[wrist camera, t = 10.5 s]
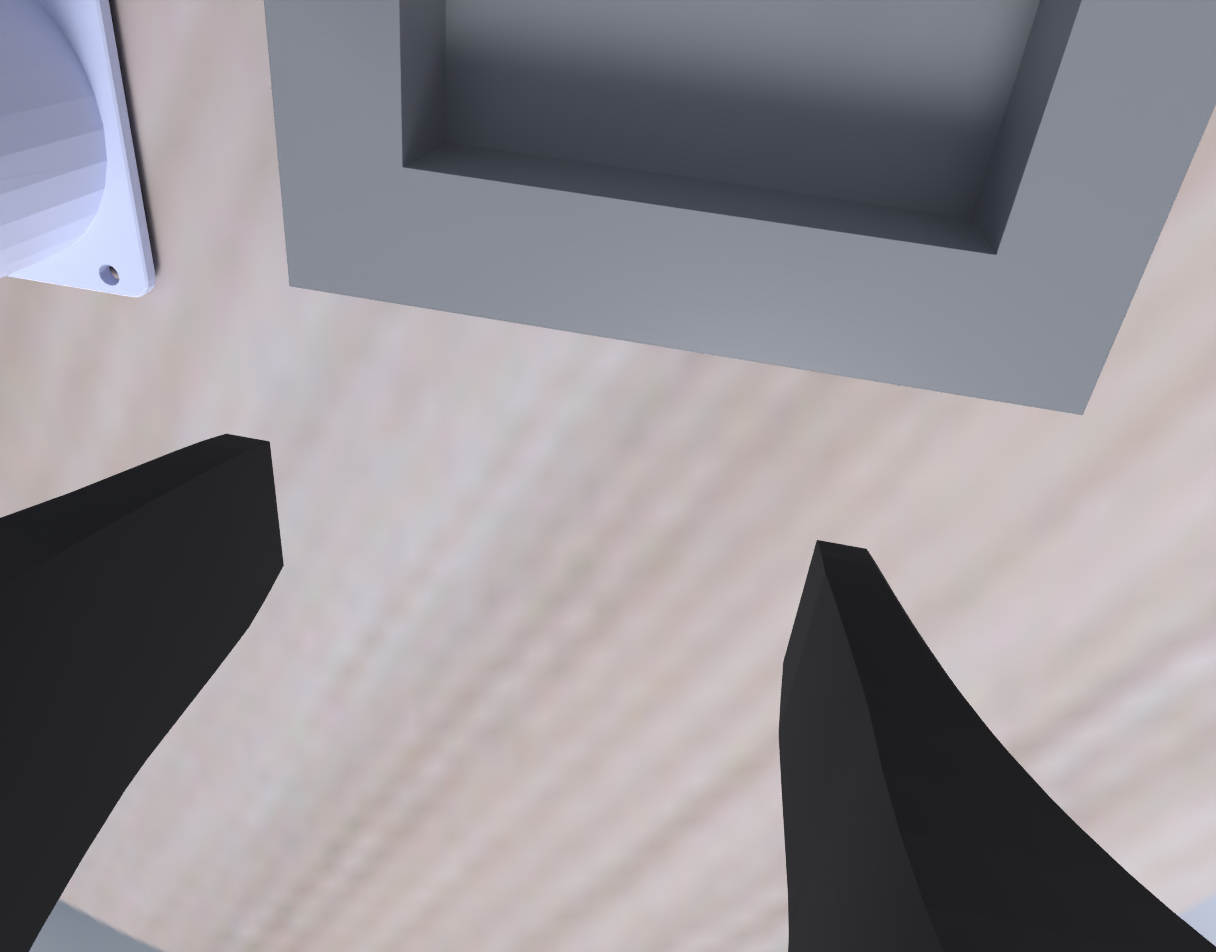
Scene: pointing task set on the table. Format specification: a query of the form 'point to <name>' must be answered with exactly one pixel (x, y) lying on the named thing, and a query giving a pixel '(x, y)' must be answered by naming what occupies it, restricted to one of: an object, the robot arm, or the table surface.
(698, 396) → the table surface
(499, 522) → the table surface
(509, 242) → the pocket plate
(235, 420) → the table surface
